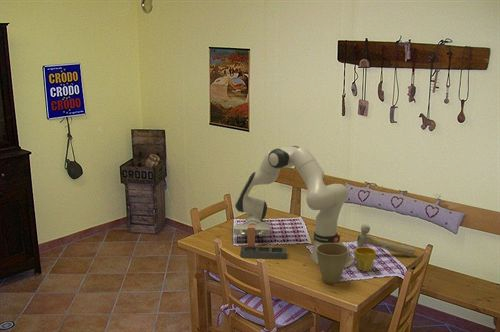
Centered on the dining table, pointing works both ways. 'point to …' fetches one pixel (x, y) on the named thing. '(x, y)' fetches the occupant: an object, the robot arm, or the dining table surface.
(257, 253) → the grey slotted tray
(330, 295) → the dining table surface
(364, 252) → the plant pot
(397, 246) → the hammer
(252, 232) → the peg
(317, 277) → the dining table surface
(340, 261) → the plant pot
